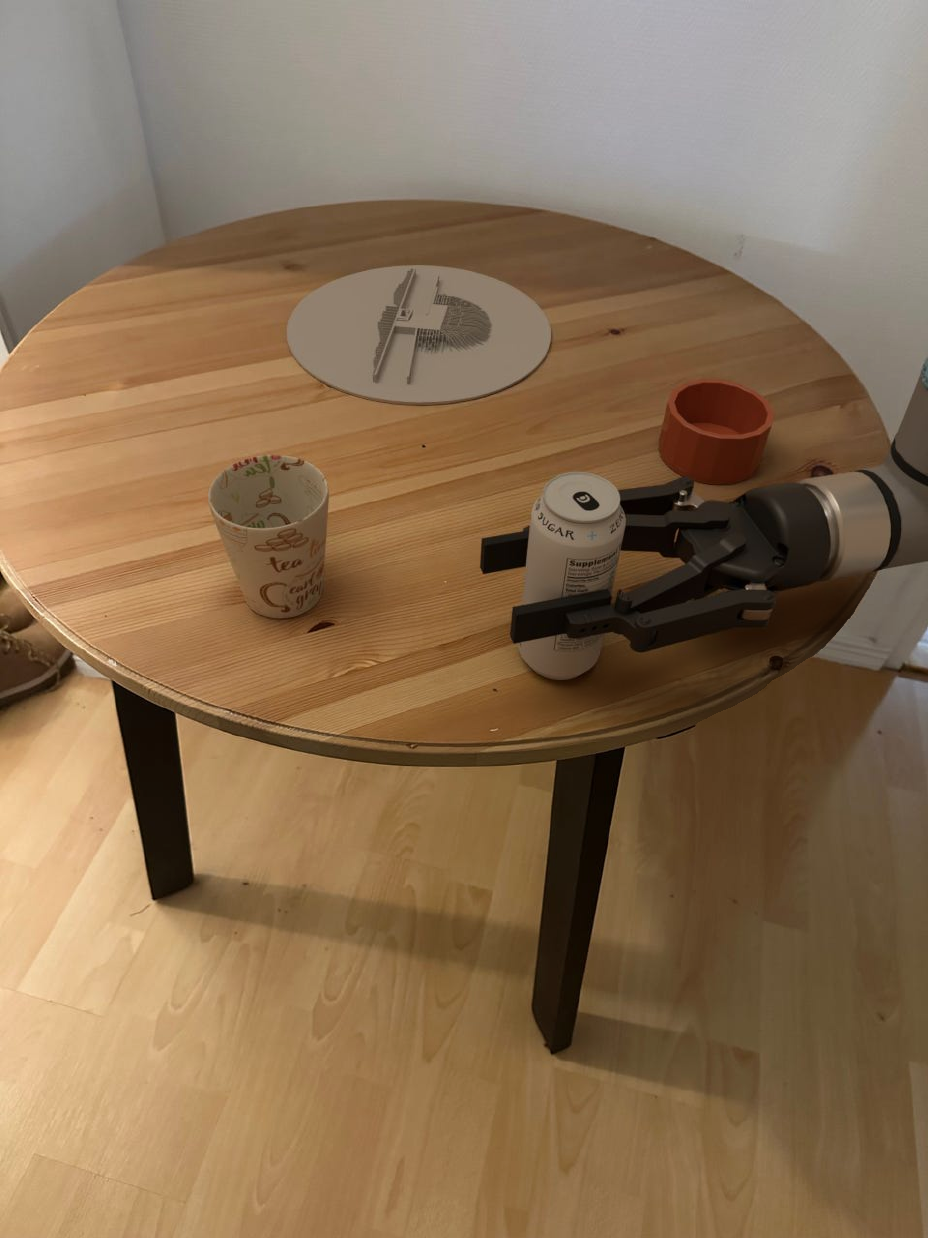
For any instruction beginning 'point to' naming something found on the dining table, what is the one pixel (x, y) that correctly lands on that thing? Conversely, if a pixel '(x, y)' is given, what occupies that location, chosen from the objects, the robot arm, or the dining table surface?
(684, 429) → the holder
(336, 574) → the dining table surface
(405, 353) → the plate
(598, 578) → the energy drink can
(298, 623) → the dining table surface
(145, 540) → the dining table surface
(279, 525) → the mug
